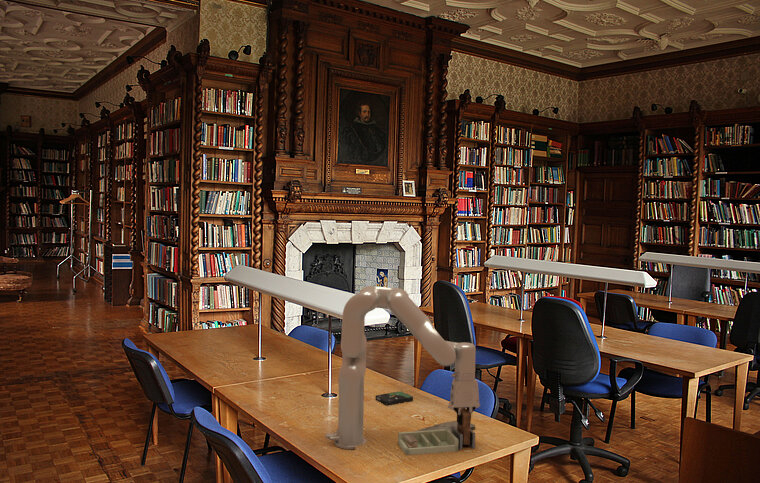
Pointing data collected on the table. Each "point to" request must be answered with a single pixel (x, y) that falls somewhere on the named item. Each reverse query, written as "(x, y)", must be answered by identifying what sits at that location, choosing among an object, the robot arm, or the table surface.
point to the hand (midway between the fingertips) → (463, 423)
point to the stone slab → (445, 426)
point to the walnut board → (465, 426)
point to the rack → (429, 442)
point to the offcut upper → (410, 440)
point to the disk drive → (394, 398)
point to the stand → (460, 437)
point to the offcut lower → (409, 445)
